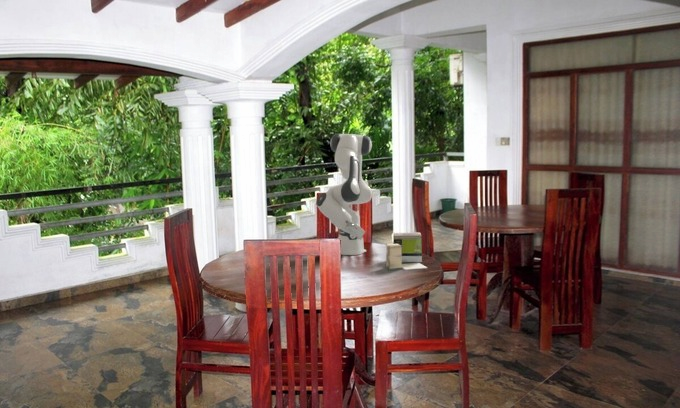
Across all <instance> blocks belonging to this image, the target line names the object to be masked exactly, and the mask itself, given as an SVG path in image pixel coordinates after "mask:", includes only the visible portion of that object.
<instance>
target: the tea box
mask: <svg viewBox="0 0 680 408" xmlns="http://www.w3.org/2000/svg"><path fill="white" fill-rule="evenodd" d="M392 239H393V243H392V244H399V245H401V246H402V263H422V262H423V244H422V243H423V242H422V241H423V239H422V233H421V232H417V231H416V232H393V238H392Z"/></svg>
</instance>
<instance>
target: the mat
mask: <svg viewBox="0 0 680 408" xmlns="http://www.w3.org/2000/svg"><path fill="white" fill-rule="evenodd" d="M402 269H403V270H404V271H410V270H423V269H428V266H426V265H424V264H422V263H421V262H409V263H402Z"/></svg>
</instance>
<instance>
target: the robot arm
mask: <svg viewBox="0 0 680 408" xmlns="http://www.w3.org/2000/svg"><path fill="white" fill-rule="evenodd" d="M372 143H373V142H372V139H371V137H369V136H368V135H363V134H362V135H360V134H357V133H356V134H355V133H335V134H333V135H332V137H331V139H330V149H331V151H332V152H333V153H335V154H334V162H335V164H336V166H337V167H338V168H340V169H341V176H342V177H343V178H344V179H345V181H344V182H343V183H341V184H339V185H334V186H332V187H330V188H329V189H328V190H327V191H326V192H322V193H321V194H319V196H318V197H317V199H316V202H315V204H316V207H317V208H318V210H319V211H320V212H321V213H322V215H324V216H325V218H328V219H329V220H330V222H331V224H333V226H335V227H336V229H337V230H338V229H339V234H338V237H337V239H338V238H339V239H340V240H341V254H340V255H343V256H356V255H362V254H363V253H366V252H367V249H365V245H364V237H363V236H364V235H365V234H366V231H365V230H364V229H363V228H362V227H361V216H360V214H359V212H357V211H355V210H353V209H351V206H350V205H361V204H366V203H369V202H370V201H371V200H372V198H373V191H372V188H371V187H370V186H369V185H368V184H367V183H366V182H365V181H364V179H363V176H362V173H363V172H362V167H363V156H367V155H369V154H370V152H371V150H372V147H373V144H372Z"/></svg>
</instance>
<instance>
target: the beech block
mask: <svg viewBox="0 0 680 408" xmlns="http://www.w3.org/2000/svg"><path fill="white" fill-rule="evenodd" d="M385 246H386V248H385V250H386V253H385V255H386V256H385V257H386V259H385V261H386V266H385V267H386V268H387V269H388V270H389V271H395V270H396V271H397V270H402V269H403V268H402V264H403V262H402V246H401V245H399V244H393V243H389V244H386V245H385Z"/></svg>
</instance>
